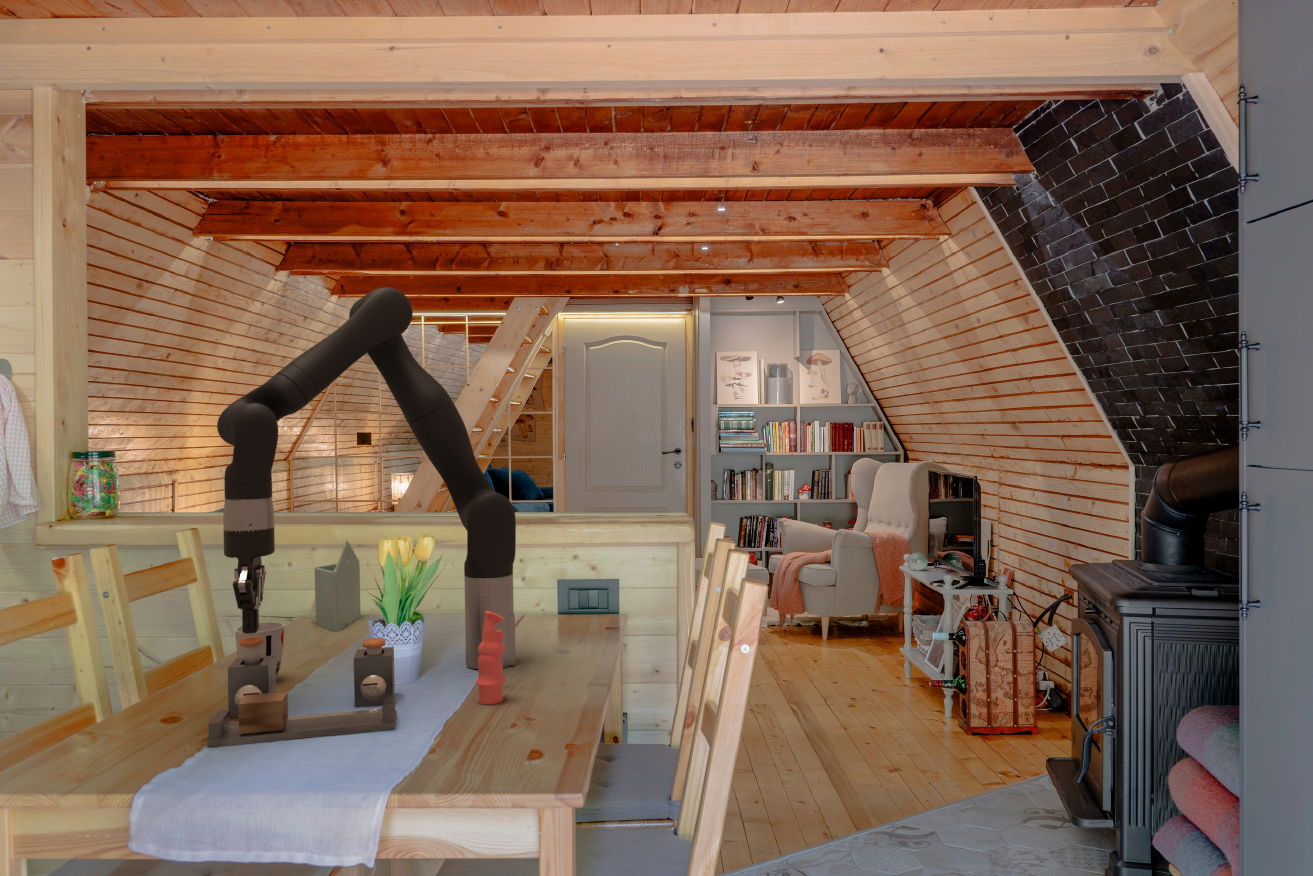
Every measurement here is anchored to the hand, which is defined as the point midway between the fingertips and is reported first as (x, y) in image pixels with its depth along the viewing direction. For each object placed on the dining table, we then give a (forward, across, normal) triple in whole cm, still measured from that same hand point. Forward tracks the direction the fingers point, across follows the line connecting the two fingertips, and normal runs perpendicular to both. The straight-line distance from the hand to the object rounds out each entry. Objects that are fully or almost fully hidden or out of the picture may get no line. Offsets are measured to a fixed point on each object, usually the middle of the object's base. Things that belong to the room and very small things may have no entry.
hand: (250, 632), depth 142 cm
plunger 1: (+5, 0, 0) cm, 5 cm away
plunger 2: (+7, 0, -19) cm, 20 cm away
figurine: (+13, -6, -38) cm, 41 cm away
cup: (+13, +17, +2) cm, 21 cm away
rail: (+13, -13, -10) cm, 21 cm away
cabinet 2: (+13, 0, -19) cm, 23 cm away
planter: (+13, +63, -5) cm, 64 cm away
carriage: (+12, -13, -4) cm, 18 cm away
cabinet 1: (+13, 0, 0) cm, 13 cm away
